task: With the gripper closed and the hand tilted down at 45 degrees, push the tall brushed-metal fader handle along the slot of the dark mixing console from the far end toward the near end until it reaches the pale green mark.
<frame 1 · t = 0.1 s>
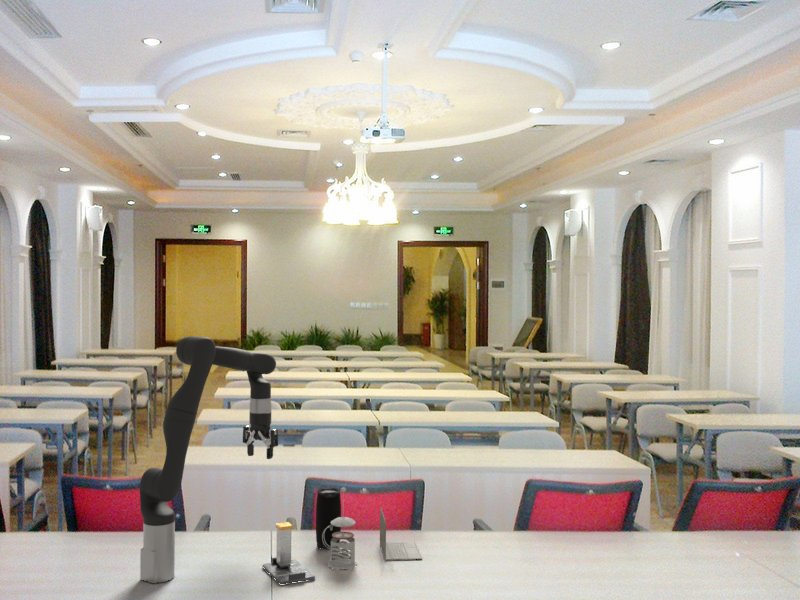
hand: (260, 457, 291), 29 cm above the table, tool pointing down, fingers open, 8 cm apart
fader handle: (283, 544, 262), point 8 cm above the table, slide at 0.0 cm
french press: (339, 565, 268), on the table
portable speaker: (328, 547, 285), on the table
console: (288, 573, 259), on the table
laptop: (400, 552, 281), on the table
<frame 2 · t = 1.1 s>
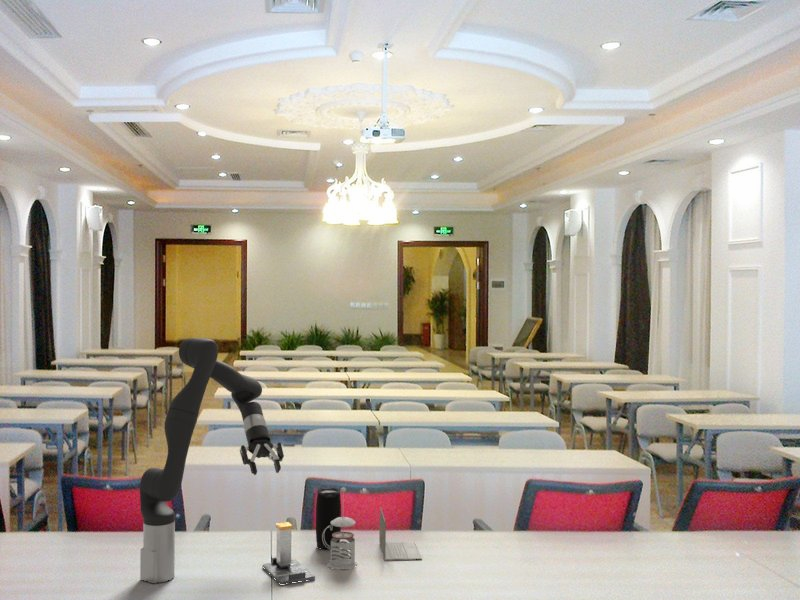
hand: (266, 472, 271), 28 cm above the table, tool tilted 45°, fingers open, 7 cm apart
nothing on the table moved.
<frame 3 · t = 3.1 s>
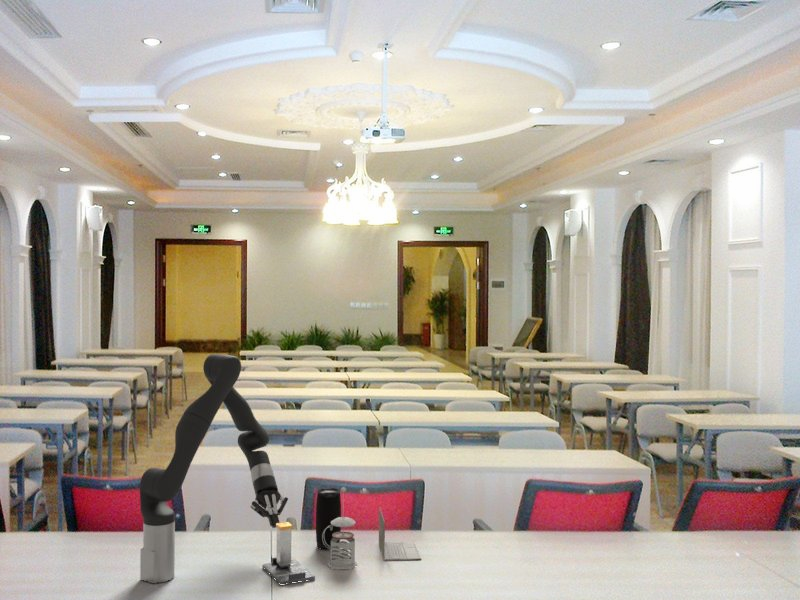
hand: (275, 526, 270), 11 cm above the table, tool tilted 45°, fingers closed
nothing on the table moved.
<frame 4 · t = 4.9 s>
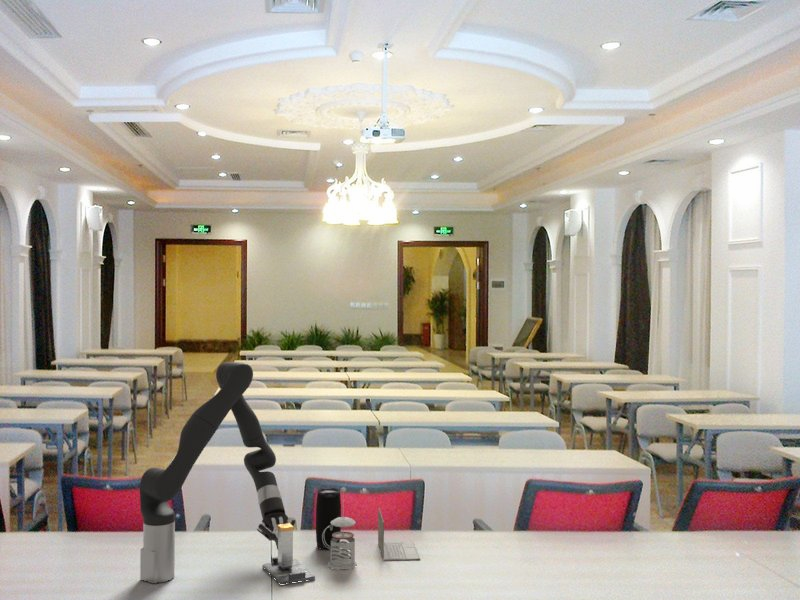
hand: (282, 550, 263), 6 cm above the table, tool tilted 45°, fingers closed
fader handle: (285, 546, 261), point 8 cm above the table, slide at 1.4 cm, touching gripper
everything else where it was.
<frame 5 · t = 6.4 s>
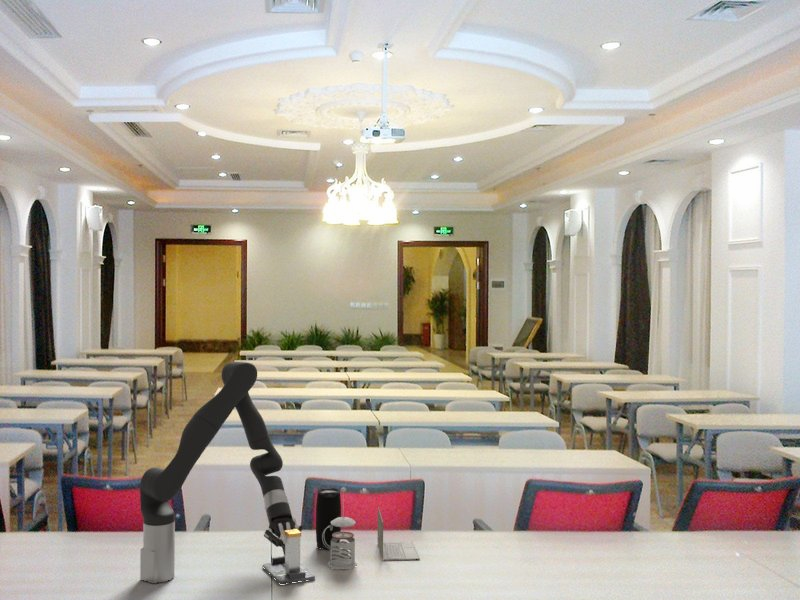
hand: (289, 556, 257), 6 cm above the table, tool tilted 45°, fingers closed
fader handle: (292, 552, 255), point 8 cm above the table, slide at 8.1 cm, touching gripper
everything else where it was.
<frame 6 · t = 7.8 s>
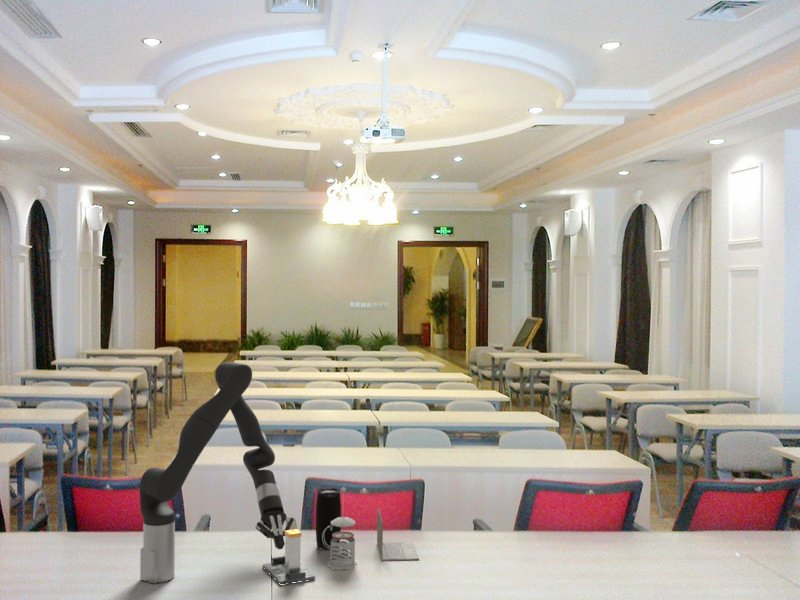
hand: (280, 548, 265), 6 cm above the table, tool tilted 45°, fingers closed
fader handle: (292, 552, 255), point 8 cm above the table, slide at 8.1 cm
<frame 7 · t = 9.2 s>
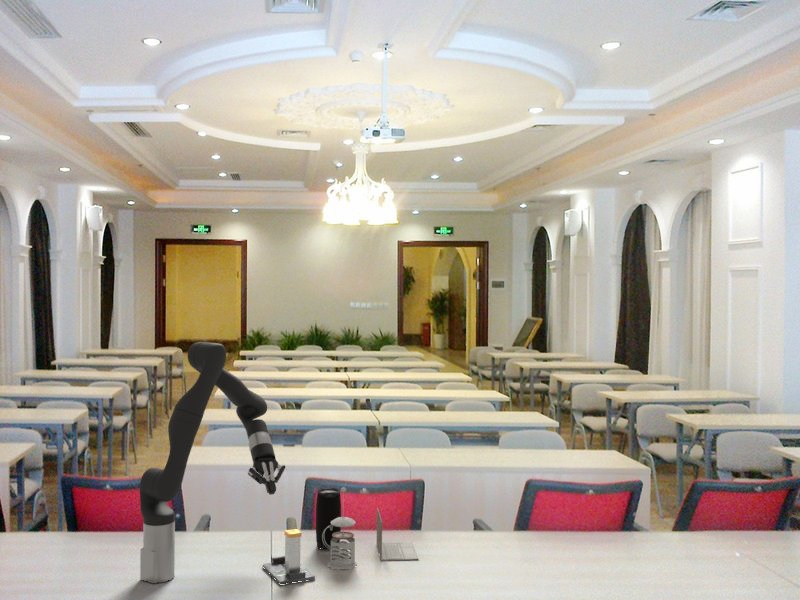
hand: (272, 493, 269), 22 cm above the table, tool tilted 45°, fingers closed
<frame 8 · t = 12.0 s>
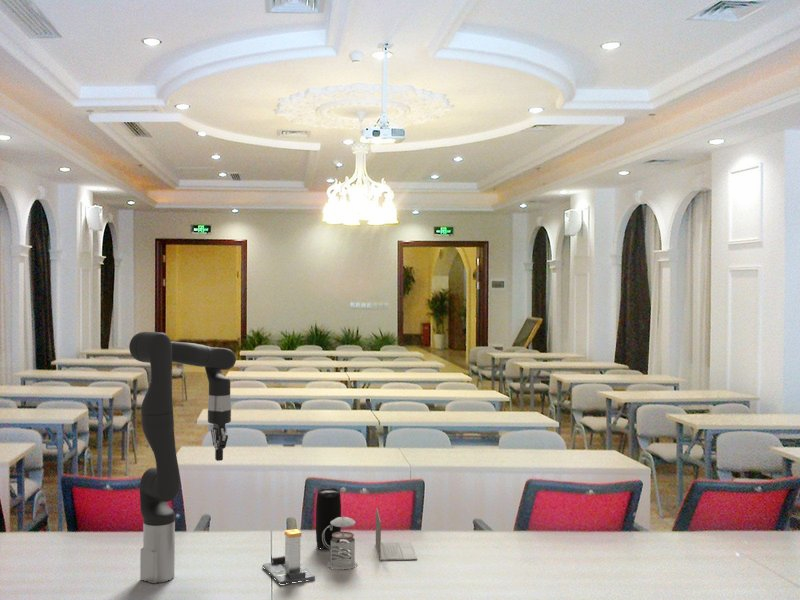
hand: (219, 460, 277), 31 cm above the table, tool pointing down, fingers closed
at the end: fader handle slide at 8.1 cm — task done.
